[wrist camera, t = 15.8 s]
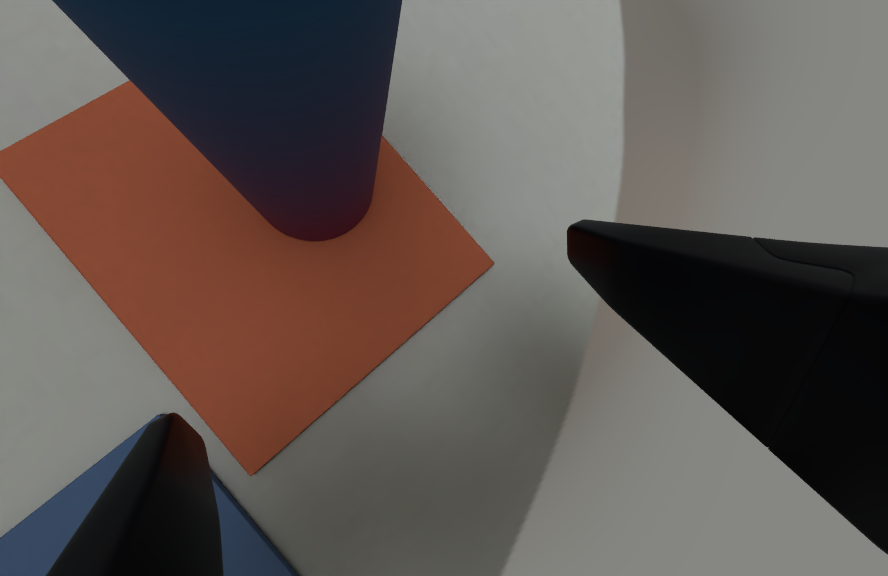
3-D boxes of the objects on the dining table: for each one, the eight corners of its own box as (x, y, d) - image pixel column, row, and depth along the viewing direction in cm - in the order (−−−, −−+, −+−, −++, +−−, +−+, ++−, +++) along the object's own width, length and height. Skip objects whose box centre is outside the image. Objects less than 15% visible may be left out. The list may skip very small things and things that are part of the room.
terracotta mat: (492, 265, 19) (495, 263, 19) (253, 474, 16) (250, 477, 15) (269, 11, 20) (267, 4, 19) (-7, 164, 16) (-16, 159, 16)
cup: (208, 239, 17) (-840, -574, 2) (258, 96, 18) (-179, -946, 4) (373, 279, 18) (373, -133, 3) (408, 139, 19) (522, -582, 5)
